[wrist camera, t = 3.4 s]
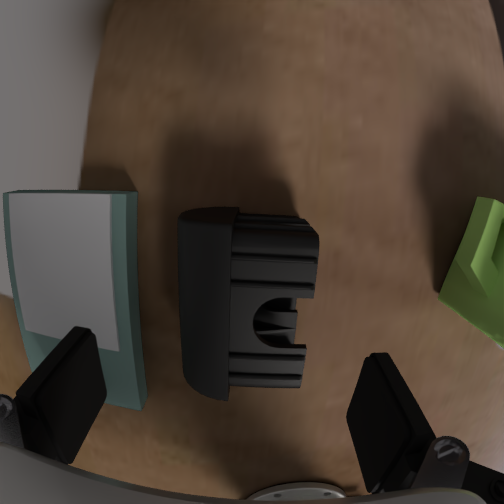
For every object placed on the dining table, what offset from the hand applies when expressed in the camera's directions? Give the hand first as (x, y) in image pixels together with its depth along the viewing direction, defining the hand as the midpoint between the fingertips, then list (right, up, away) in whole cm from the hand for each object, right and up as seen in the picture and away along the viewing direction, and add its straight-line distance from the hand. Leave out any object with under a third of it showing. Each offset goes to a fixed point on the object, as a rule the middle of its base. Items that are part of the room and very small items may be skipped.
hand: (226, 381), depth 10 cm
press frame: (-13, +1, +12) cm, 18 cm away
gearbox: (+22, +3, +11) cm, 25 cm away
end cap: (0, +3, +12) cm, 12 cm away
